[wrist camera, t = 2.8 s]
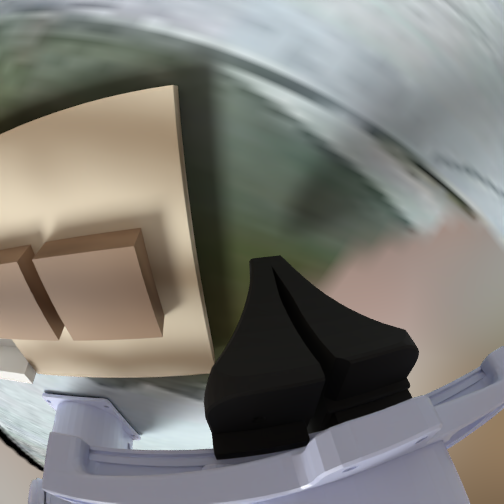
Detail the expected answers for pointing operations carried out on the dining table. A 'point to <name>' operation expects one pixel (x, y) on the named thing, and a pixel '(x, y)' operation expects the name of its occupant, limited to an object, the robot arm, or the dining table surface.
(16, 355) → the tray
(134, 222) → the board
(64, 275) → the tile
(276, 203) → the dining table surface
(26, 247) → the tile
